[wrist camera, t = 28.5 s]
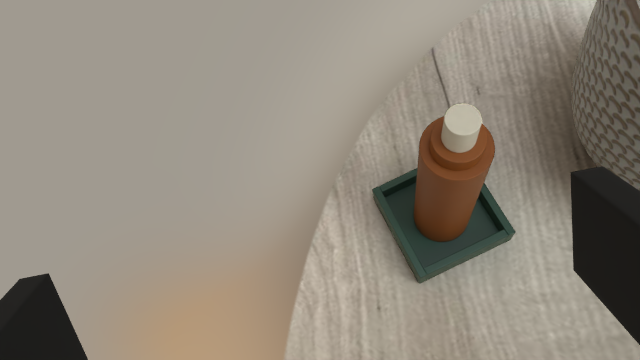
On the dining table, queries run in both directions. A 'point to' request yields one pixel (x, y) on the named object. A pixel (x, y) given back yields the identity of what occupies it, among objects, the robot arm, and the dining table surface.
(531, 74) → the dining table surface
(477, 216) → the tray
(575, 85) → the planter
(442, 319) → the dining table surface
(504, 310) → the dining table surface
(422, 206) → the bottle
